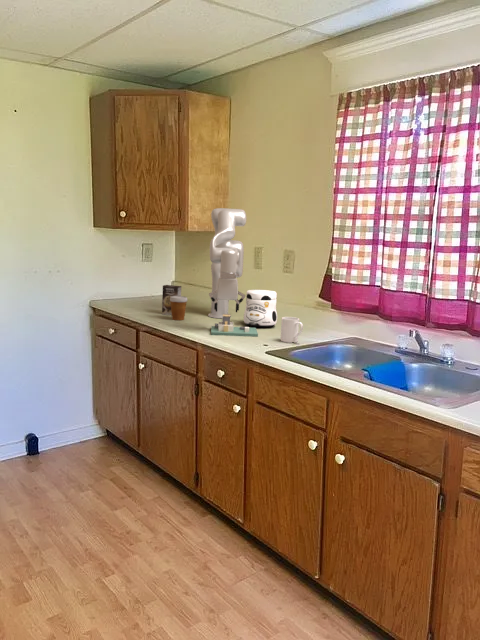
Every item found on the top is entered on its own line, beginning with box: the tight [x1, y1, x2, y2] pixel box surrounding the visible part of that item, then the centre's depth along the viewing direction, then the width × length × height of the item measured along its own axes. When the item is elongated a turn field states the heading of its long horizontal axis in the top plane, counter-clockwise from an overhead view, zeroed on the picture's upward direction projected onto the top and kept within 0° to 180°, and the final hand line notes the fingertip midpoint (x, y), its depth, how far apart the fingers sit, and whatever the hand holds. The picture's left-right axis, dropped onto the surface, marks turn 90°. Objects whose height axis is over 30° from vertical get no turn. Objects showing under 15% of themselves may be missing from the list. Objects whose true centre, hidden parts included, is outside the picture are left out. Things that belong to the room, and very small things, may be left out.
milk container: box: [243, 289, 278, 328], centre depth 290 cm, size 17×17×18 cm
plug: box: [221, 313, 231, 325], centre depth 270 cm, size 6×4×7 cm, turn 2°
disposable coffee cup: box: [170, 295, 188, 321], centre depth 298 cm, size 10×10×12 cm
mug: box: [280, 316, 304, 344], centre depth 254 cm, size 12×8×10 cm, turn 35°
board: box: [210, 321, 259, 338], centre depth 271 cm, size 16×22×4 cm
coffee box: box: [161, 284, 182, 316], centre depth 313 cm, size 9×6×16 cm
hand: (226, 311), depth 270 cm, fingers open, 9 cm apart
